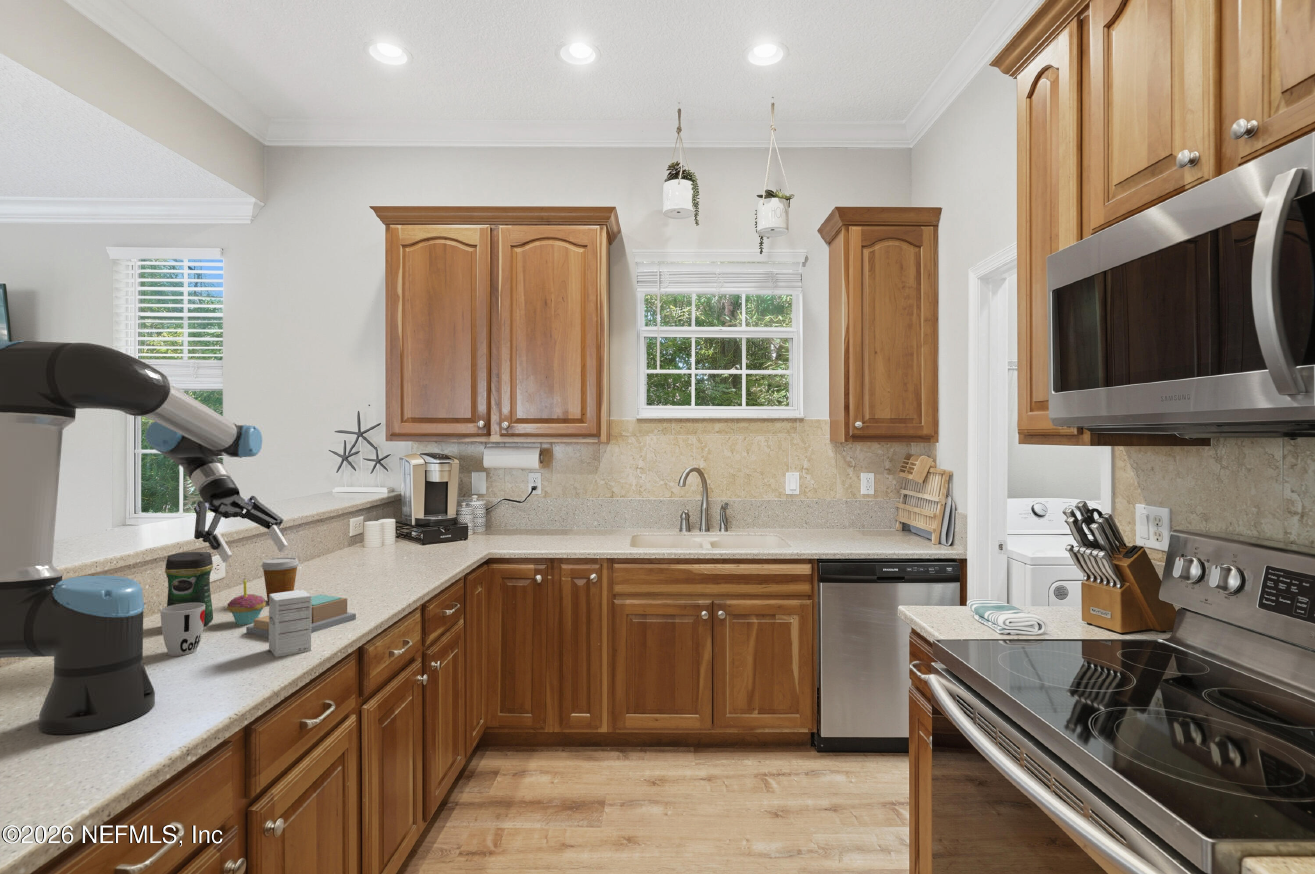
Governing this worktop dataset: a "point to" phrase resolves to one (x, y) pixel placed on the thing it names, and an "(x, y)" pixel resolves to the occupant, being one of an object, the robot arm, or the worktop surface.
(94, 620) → the robot arm
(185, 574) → the coffee jar
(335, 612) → the build base
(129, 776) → the worktop surface
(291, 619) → the supplement box
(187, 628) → the cup
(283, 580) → the disposable coffee cup
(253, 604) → the cupcake
